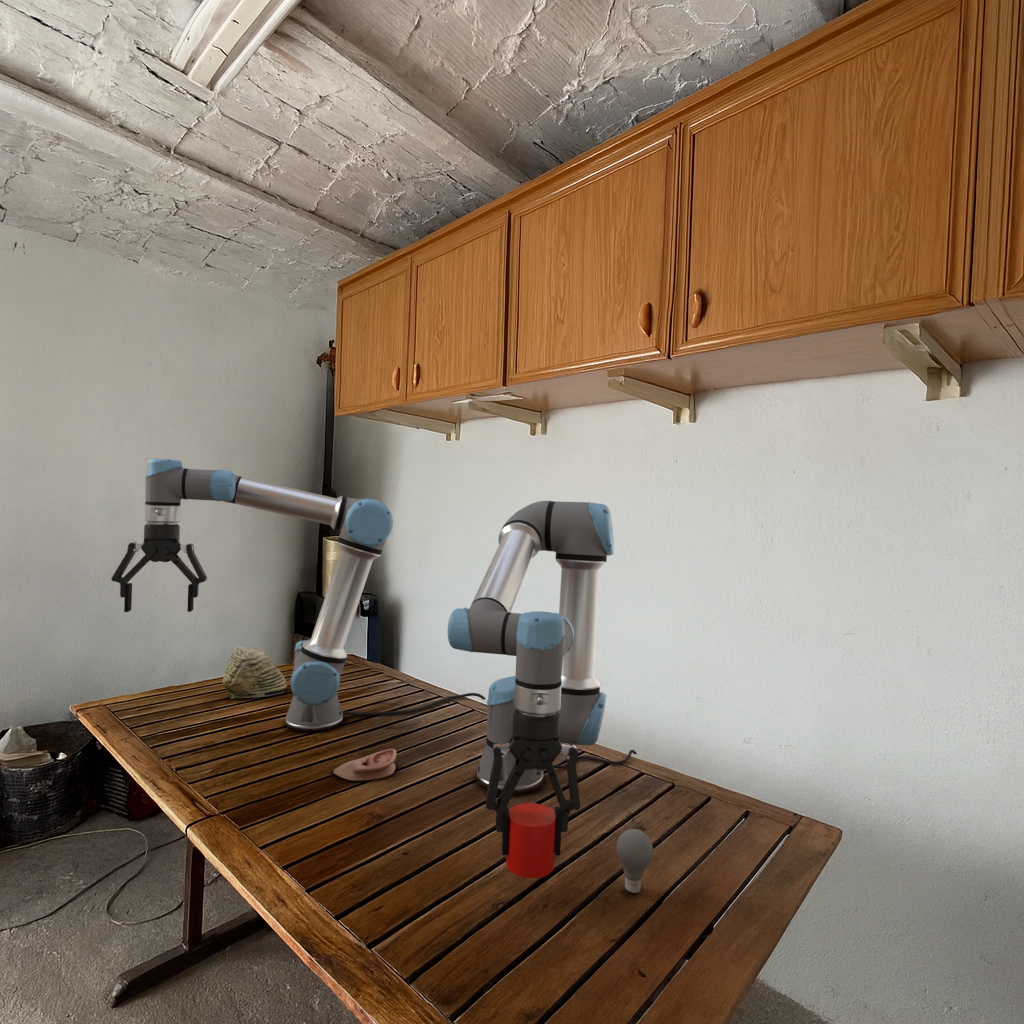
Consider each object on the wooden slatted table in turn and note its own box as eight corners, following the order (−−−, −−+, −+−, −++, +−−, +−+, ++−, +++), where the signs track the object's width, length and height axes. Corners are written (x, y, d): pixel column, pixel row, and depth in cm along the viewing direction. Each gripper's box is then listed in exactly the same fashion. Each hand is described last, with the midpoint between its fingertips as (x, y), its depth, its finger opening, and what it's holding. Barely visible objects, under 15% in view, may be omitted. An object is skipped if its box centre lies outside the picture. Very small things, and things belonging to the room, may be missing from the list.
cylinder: (561, 873, 100) (564, 822, 100) (516, 882, 97) (518, 829, 97) (542, 848, 107) (544, 800, 107) (499, 855, 104) (501, 806, 104)
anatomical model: (327, 759, 142) (350, 741, 154) (326, 777, 143) (349, 757, 154) (382, 767, 140) (402, 748, 151) (382, 785, 140) (401, 764, 151)
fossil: (218, 695, 195) (220, 647, 195) (278, 685, 208) (279, 640, 207) (228, 703, 189) (230, 653, 188) (289, 692, 201) (290, 645, 201)
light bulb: (610, 879, 108) (613, 822, 108) (644, 879, 109) (647, 822, 109) (619, 902, 102) (622, 840, 102) (655, 901, 103) (658, 840, 103)
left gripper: (97, 522, 146) (94, 614, 146) (215, 525, 152) (212, 613, 153) (109, 520, 153) (106, 608, 153) (221, 524, 159) (218, 608, 160)
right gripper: (473, 716, 97) (466, 863, 97) (605, 719, 99) (598, 864, 99) (472, 701, 105) (466, 838, 105) (595, 703, 106) (589, 838, 106)
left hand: (159, 611), depth 153 cm, fingers open, 13 cm apart
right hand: (530, 850), depth 102 cm, fingers closed on cylinder, 8 cm apart
